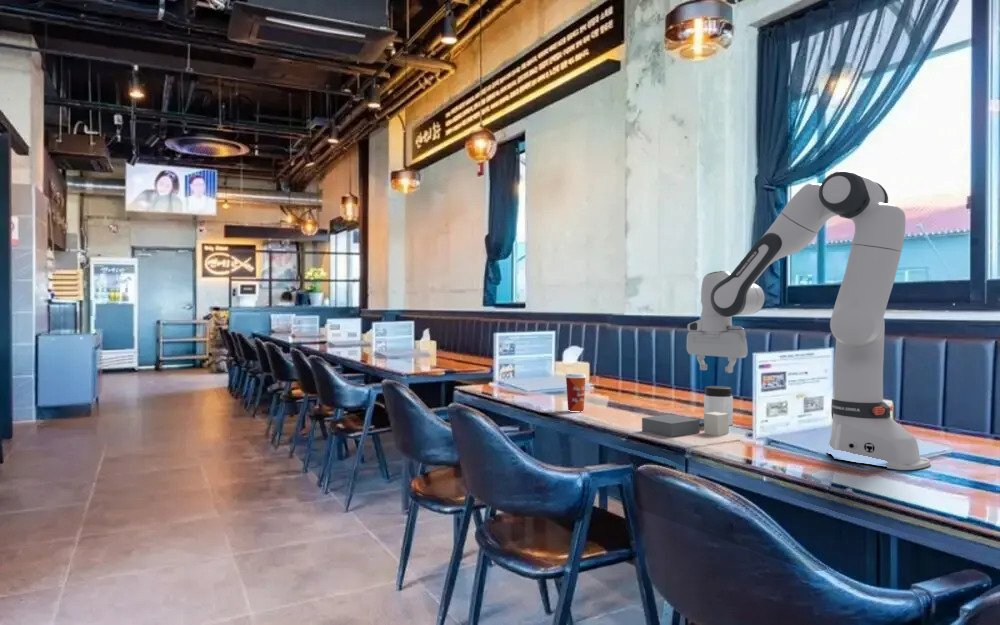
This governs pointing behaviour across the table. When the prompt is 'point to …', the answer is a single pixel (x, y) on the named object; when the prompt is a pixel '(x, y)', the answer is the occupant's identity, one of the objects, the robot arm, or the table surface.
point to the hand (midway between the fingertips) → (716, 371)
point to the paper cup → (575, 391)
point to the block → (716, 423)
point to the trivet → (671, 425)
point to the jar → (719, 400)
